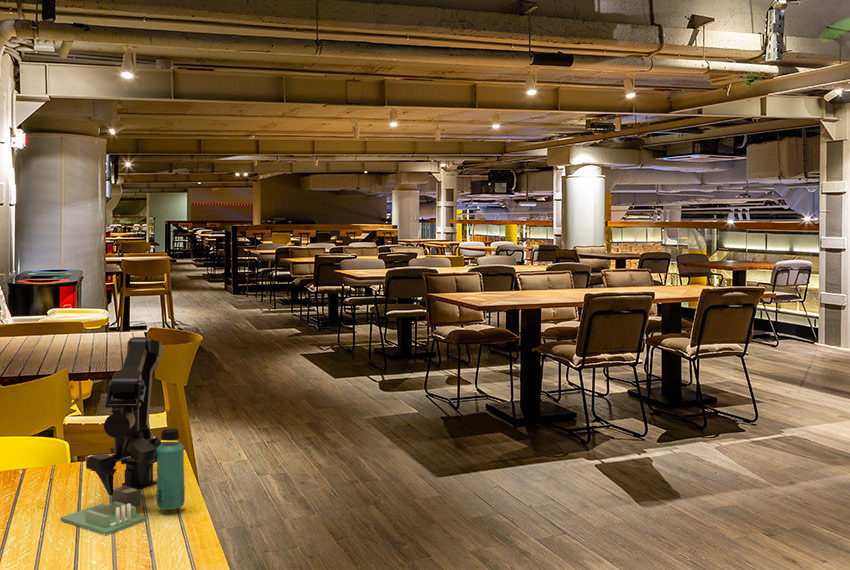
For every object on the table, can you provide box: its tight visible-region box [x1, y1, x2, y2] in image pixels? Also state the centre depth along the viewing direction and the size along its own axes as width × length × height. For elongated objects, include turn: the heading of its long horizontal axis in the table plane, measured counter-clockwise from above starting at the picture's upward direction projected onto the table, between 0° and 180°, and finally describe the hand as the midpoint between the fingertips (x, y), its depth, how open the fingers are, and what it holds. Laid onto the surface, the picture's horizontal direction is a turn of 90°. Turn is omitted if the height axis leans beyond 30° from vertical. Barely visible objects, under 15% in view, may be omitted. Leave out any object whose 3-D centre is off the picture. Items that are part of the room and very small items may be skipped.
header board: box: [60, 501, 148, 536], centre depth 178 cm, size 16×11×5 cm
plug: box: [111, 485, 142, 508], centre depth 188 cm, size 6×4×4 cm, turn 57°
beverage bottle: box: [155, 428, 186, 510], centre depth 184 cm, size 6×7×20 cm
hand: (126, 489), depth 188 cm, fingers open, 9 cm apart
